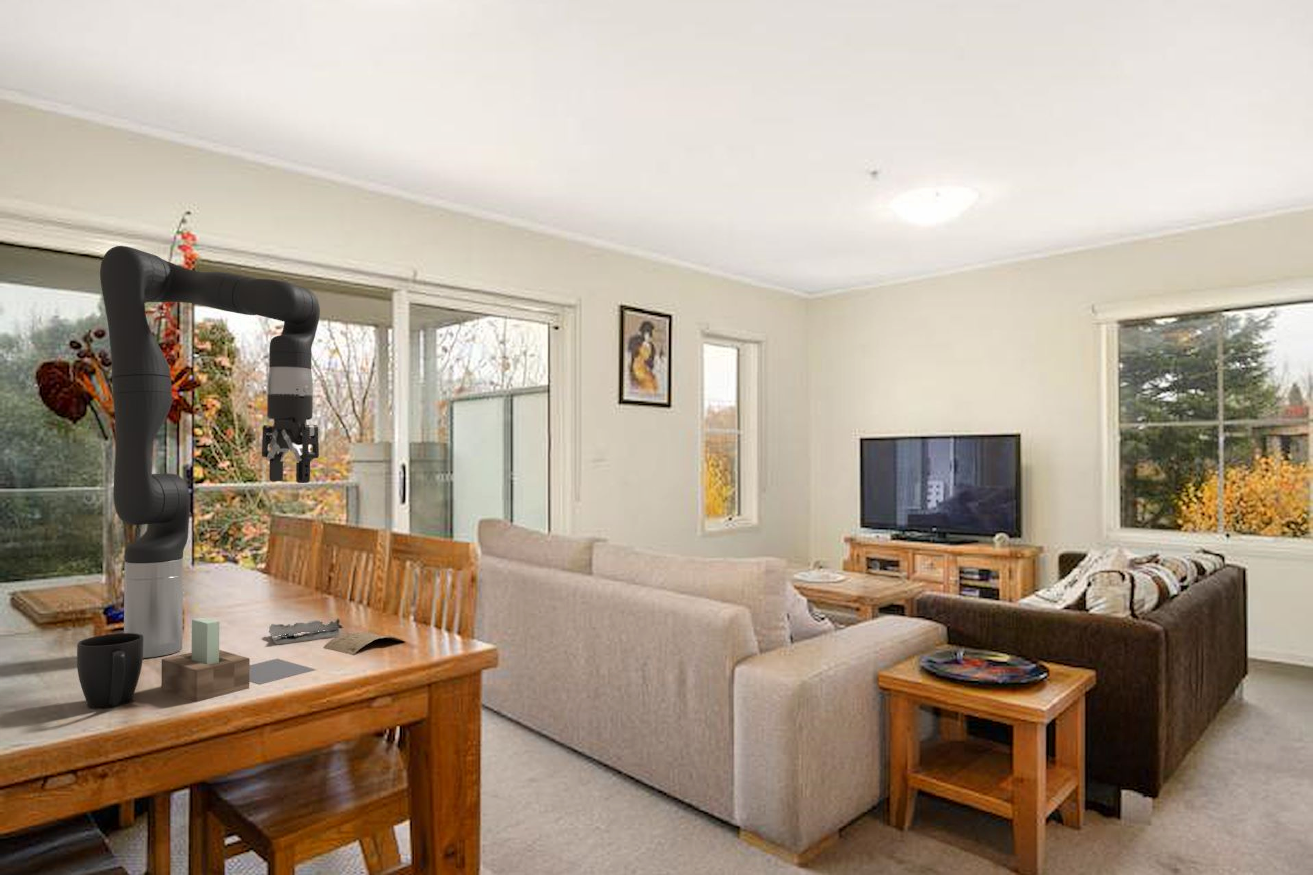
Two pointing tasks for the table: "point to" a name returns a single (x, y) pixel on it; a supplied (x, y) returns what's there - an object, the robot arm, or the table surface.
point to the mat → (275, 671)
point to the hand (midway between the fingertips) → (289, 482)
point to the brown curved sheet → (353, 641)
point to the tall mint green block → (205, 640)
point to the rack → (205, 676)
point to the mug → (109, 668)
